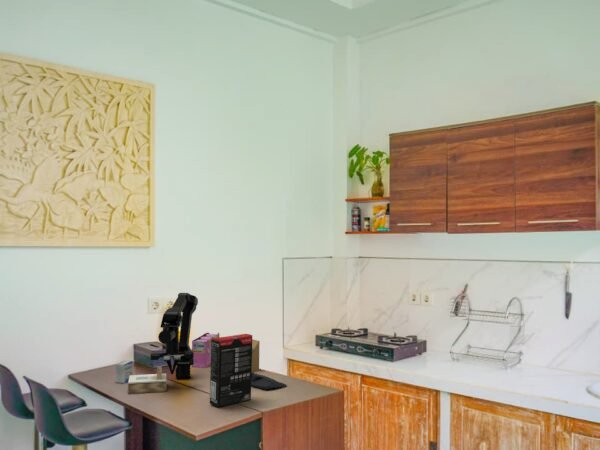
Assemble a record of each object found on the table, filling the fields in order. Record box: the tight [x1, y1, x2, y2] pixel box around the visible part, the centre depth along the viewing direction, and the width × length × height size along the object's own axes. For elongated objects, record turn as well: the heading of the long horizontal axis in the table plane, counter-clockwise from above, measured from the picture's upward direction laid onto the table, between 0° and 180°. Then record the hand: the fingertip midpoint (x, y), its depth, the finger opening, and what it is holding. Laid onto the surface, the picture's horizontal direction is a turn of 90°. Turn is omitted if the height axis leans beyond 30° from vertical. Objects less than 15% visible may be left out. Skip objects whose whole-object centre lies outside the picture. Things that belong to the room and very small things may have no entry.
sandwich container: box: [252, 338, 261, 373], centre depth 290 cm, size 9×15×15 cm, turn 141°
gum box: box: [191, 332, 220, 369], centre depth 309 cm, size 24×8×14 cm, turn 169°
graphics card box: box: [209, 333, 253, 408], centre depth 240 cm, size 17×7×27 cm, turn 133°
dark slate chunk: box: [251, 372, 287, 390], centre depth 268 cm, size 15×22×5 cm
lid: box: [127, 366, 167, 385], centre depth 259 cm, size 16×12×4 cm
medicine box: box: [115, 359, 134, 384], centre depth 272 cm, size 8×4×9 cm, turn 168°
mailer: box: [127, 381, 167, 395], centre depth 259 cm, size 16×12×4 cm
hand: (172, 374), depth 261 cm, fingers closed
